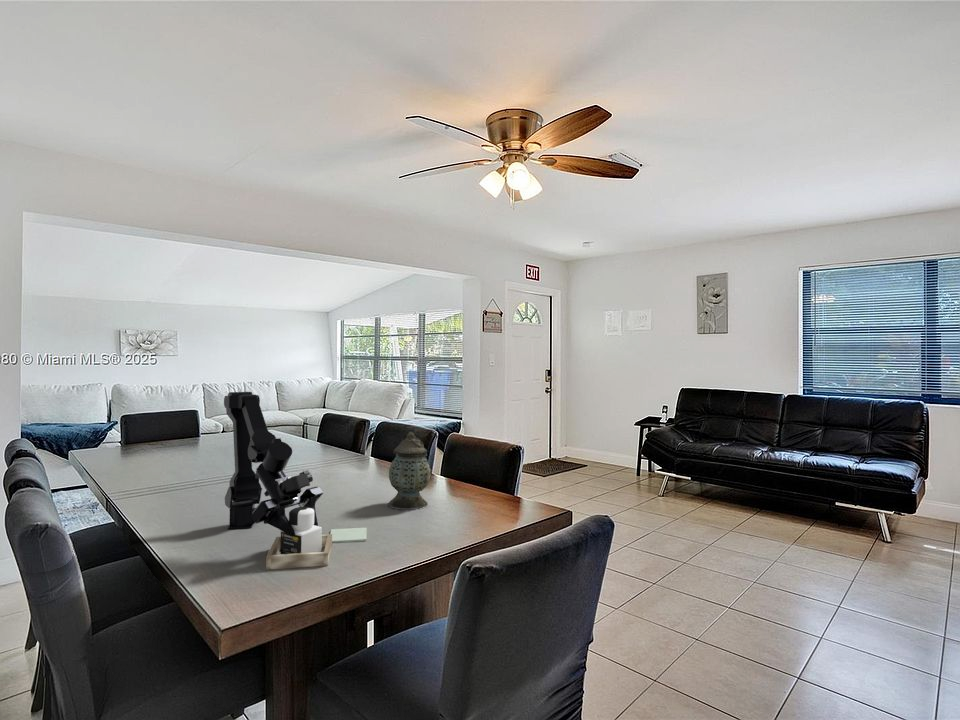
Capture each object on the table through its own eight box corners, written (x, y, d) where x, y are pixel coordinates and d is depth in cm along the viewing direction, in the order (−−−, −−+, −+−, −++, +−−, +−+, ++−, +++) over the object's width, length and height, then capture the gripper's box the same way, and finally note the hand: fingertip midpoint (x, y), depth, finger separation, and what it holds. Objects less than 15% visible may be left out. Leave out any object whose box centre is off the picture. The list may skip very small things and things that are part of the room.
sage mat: (328, 542, 143) (328, 541, 143) (331, 530, 153) (331, 529, 153) (366, 540, 145) (366, 539, 145) (366, 529, 155) (366, 527, 155)
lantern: (409, 497, 191) (410, 427, 191) (438, 504, 182) (439, 432, 182) (379, 505, 180) (380, 431, 180) (408, 513, 171) (409, 436, 171)
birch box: (266, 569, 125) (266, 556, 125) (276, 548, 138) (276, 536, 138) (327, 565, 128) (328, 553, 128) (331, 545, 141) (332, 534, 141)
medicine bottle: (279, 558, 131) (280, 510, 131) (301, 549, 138) (302, 503, 138) (300, 564, 128) (301, 514, 128) (322, 554, 134) (322, 507, 134)
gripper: (260, 468, 127) (292, 522, 121) (318, 456, 143) (349, 503, 138) (238, 496, 130) (268, 550, 125) (297, 481, 147) (326, 528, 142)
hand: (305, 531), depth 132 cm, fingers closed on medicine bottle, 7 cm apart
